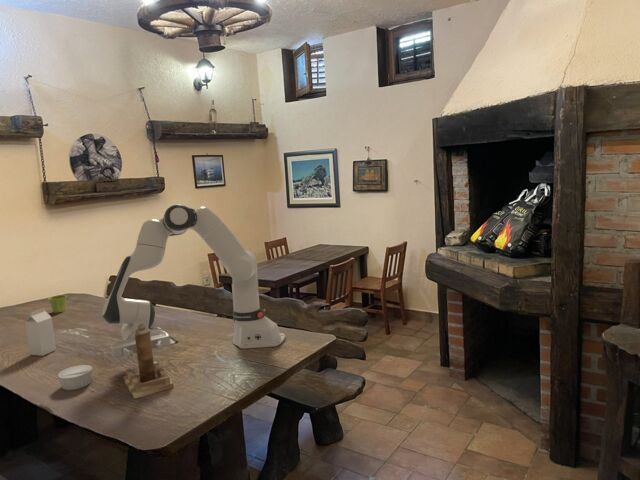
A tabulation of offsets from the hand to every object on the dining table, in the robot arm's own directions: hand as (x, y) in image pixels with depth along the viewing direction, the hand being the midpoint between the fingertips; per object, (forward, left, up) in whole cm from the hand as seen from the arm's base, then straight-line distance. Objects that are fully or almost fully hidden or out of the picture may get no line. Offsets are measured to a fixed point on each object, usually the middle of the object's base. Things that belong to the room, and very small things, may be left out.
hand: (144, 350), depth 163 cm
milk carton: (+66, -27, -13) cm, 73 cm away
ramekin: (+27, +2, -13) cm, 30 cm away
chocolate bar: (+19, -44, -13) cm, 50 cm away
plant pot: (+108, -88, -13) cm, 140 cm away
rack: (0, 0, -13) cm, 13 cm away
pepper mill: (0, 0, -11) cm, 11 cm away
